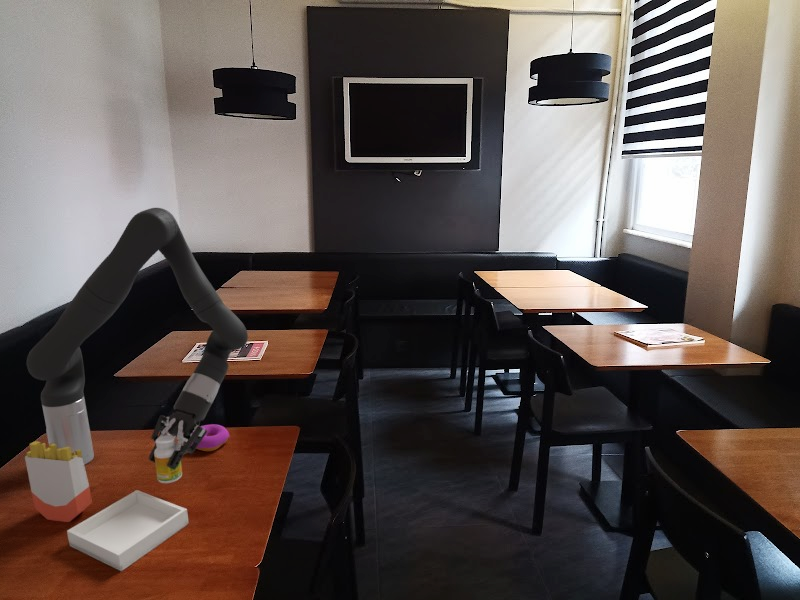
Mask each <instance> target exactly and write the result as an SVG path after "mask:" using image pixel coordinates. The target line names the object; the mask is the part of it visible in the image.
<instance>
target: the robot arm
mask: <svg viewBox="0 0 800 600" xmlns="http://www.w3.org/2000/svg"><path fill="white" fill-rule="evenodd" d="M158 251H159V252H160V253H161V255H163V257H164V259H165V260H166V261H167V263H168V265H169V266H170V268H171V270H172V271H173V274H174V276H175V279H176V282H177V285H178V286H179V289H180V292H181V294H182V296H183V298H184V300H185V301H186V303H187V304H188V305H189V307H190V308H191V309H192V311H193V312H194V314H195V316H196V317H197V319H199V320H200V321H201V322H202V323H205V324H208V326H210V327H211V328H212V331H211V333H210V334H209V336H208V338H207V340H206V343H205V346H204V349H203V354H202V357H201V359H200V360H199V362H198V363H197V366H196V367H195V369H194V370H193V371H192V374H191V376H190V377H189V378H188V380H187V381H186V383H185V385H184V387H183V389H182V390H181V392H180V394H179V396H178V397H177V399H176V401H175V404H174V405H173V409H174V410H173V413H171V415H169V416H165V415H163V414H160V415H159V417H158V419H157V422H156V424H155V428H154V430H153V432H152V434H151V437H150V438H151V440H153V441H154V443H155V444H154V446H153V448H152V450H151V452H150V453H149V456H148V461H150V462H152V463H154V464H155V457H154V451H155V449H156V448H157V446H156V440H157V439H158V438H159V437H162V436H166V435H172V436H174V437H175V438H176V442H177V443H176V444H177V447H176V450H177V451H175V450H174V452H173V454H172V456H171V458H170V460H169V462H168V464H167V467H169V468H171V469H175V468H176V467H177V466H178V465H179V463H180V461H181V462H182V459H183V457H184V455H185V454H188V453H189V454H193V453H194V452H195V451H196V448H197V446H198V445H199V443H200V442H201V440H202V439H203V437H204V436H205V435H206V433H207V430H206V429H204V428H203V427H200V423H201V421H204V420H205V418H206V416H207V414H208V412H209V410H210V409H211V407H212V404H213V403H214V400H215V398H216V396H217V394H218V392H219V389H220V386H221V385H222V382H223V381H224V378H225V376H226V374H227V372H228V370H229V363H228V360H229V357H230V354H231V353H232V351H236V350H237V351H238V350H239V349H242V348H244V347H245V346H246V344H247V342H248V338H249V336H248V335H249V334H248V331H247V328H246V326H245V324H244V323H243V322H242V320H240V318H239V317H238V316H237V315H236V314H235V313H234V312H233V311H232V310H231V309H230V308H229V307H227V306H226V305H225V304H224V302H223V300H222V298H221V297H220V296H219V294H218V293H217V291H216V289H215V288H214V287H213V285H212V283H211V282H210V281H209V279H208V277H207V276H206V275H205V273H204V271H203V270H202V269H201V267H200V265H199V263H198V262H197V260H196V259H195V256H194V255H193V253H192V251H191V248H190V247H189V245H188V243H187V241H186V239H185V237H184V235H183V232H182V230H181V227H180V226H179V224H178V221H177V219H176V218H175V216H174V215H173V214H172V213H171V212H170V211H169V210H166V209H165V208H162V207H152V208H148V209H145V210H142V211H139V212H138V213H136V214H134V215H133V217H132V218H131V219H130V220H129V222H128V223H127V225H126V227H125V229H124V230H123V232H122V233H121V236H120V238H119V239H118V241H117V243H116V244H115V246H114V247H113V249H112V250H111V251H110V253H109V254H108V255H107V256H106V257H105V258H104V259H103V260H102V262H100V264H99V265H98V266H97V267H96V269H95V270H94V271H93V272H91V275H90V276H89V277H88V278H87V279H86V281H85V282H84V283H83V285H82V286H81V287H80V289H79V290H78V291H77V293H76V294H75V296H74V297H73V298H72V300H71V301H70V303H69V304H68V306H67V307H65V310H64V311H63V313H62V314H61V316H60V317H59V318H58V319H57V321H56V323H55V324H54V326H53V327H52V328H51V329H50V330H49V331H48V332H47V333H46V334H45V335H44V336H43V338H41V339H40V340H39V341H38V342H37V343H36V344H35V345H34V346H33V347H32V349H31V350H29V352H28V355H27V358H26V367H27V370H28V373H29V374H30V375H31V377H33V378H34V379H36V380H40V381H46V382H45V385H44V387H43V389H42V391H41V393H40V401H41V406H42V411H43V412H42V413H43V416H44V421H45V427H46V429H45V431H46V437H47V442H48V445H49V444H51V443H53V444H56V445H57V450H58V449H59V448H64V447H71V451H72V452H74V455H75V451H76V450H81V451H82V459H83V463H84V466H85V465H86V464H88V463H90V462H91V461H92V460H93V459H94V458H95V454H94V448H93V447H94V446H93V441H92V435H91V428H90V424H89V418H88V411H87V405H86V399H85V394H84V387H85V383H86V375H85V367H84V360H83V359H84V358H83V354H82V349H81V347H80V346H81V345H82V344H83V342H85V340H86V339H88V338H89V337H90V336H91V335H93V334H94V333H95V332H96V331H98V329H100V328H101V327H102V325H104V324H105V323H106V322H107V321H108V320H109V319H110V318H111V317H112V316H113V315H114V313H116V311H117V310H118V309H119V307H120V306H121V305H122V304H123V303H124V301H125V299H126V298H127V297H128V295H129V293H130V291H131V289H132V288H133V285H134V282H135V279H136V277H137V276H138V273H139V272H140V271H141V269H142V268H143V266H145V264H146V263H147V262H148V261H149V260H150V259H151V258H152V257H153V256H154V255H155V254H156V253H157V252H158ZM192 433H193V434H192ZM193 442H194V443H193ZM192 443H193V444H192ZM191 444H192V446H191Z"/></svg>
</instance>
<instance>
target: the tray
mask: <svg viewBox="0 0 800 600" xmlns="http://www.w3.org/2000/svg"><path fill="white" fill-rule="evenodd" d="M188 515H189V514H188V509H187V508H186V507H183V506H179V505H177V504H175V503H172V502H169V501H167V500H164V499H161V498H159V497H156V496H153V495H151V494H148V493H145V492H143V491H141V490H138V489H136V490H134V491H133V492H131V493H129V494H128V495H126V496H124V497H122V498H120V499H119V500H117V501H115V502H114V503H112V504H110V505H109V506H107V507H105V508H103V509H101V510H100V511H98V512H97V513H95V514H93V515H92V516H90V517H88V518H87V519H85V520H82V522H79V523H77V524H76V525H75V526H73V527H71V528H69V529H67V530H66V532H67V539H68V543H69V545H68V546H69V547H71V548H73V549H75V550H77V551H79V552H81V553H83V554H85V555H87V556H89V557H91V558H93V559H95V560H97V561H100V562H101V563H104V564H106V565H107V566H110V567H112V568H114V569H116V570H118V571H120V572H123V571H124V570H125V569H127V568H128V567H129V566H131V565H133V564H134V563H135V562H136V561H138V560H139V559H141V558H142V557H144V556H145V555H146V554H148V553H149V552H151V551H153V549H155V548H157V547H158V546H160V545H161V544H162V543H163V542H165V541H166V540H168V539H169V538H170V537H172V536H173V535H176V533H178V532H179V531H181V530H182V529H183V528H185V527H186V526H187V525H189V516H188Z"/></svg>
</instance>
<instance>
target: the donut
mask: <svg viewBox="0 0 800 600" xmlns="http://www.w3.org/2000/svg"><path fill="white" fill-rule="evenodd" d="M199 426H200V425H199ZM200 427H203V428H204V429H206V430H207V433H206V435H205V436H204V437H203V439H202V440H201V442H200V443H199V445H198V446H197V448H196V449H197V450H200V451H204V452H214V451H216V450H218V449H219V448H220V447H221V446H223V445H224V444H226V443H227V442H228V439H229V438H230V433H229V431H228V429H227V428H225V426H223V425H220V424H213V423H211V424H205V425H201V426H200ZM192 434H193V433H192ZM193 443H194V442H193ZM193 443H192V444H193ZM192 444H191V446H192ZM191 446H190V447H191ZM196 449H195V450H196Z"/></svg>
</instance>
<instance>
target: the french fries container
mask: <svg viewBox="0 0 800 600" xmlns="http://www.w3.org/2000/svg"><path fill="white" fill-rule="evenodd" d="M46 446H47V447H46ZM29 449H30V450H29V451H27V452H26V455H25V456H24V459H25V460H24V461H25V464H26V471H27V474H28V475H27V476H28V481H29V486H30V490H31V496H32V501H33V505H34V506H33V507H34V509H35V510H36V511H37V512H38V513H39V514H41V515H42V516H43V517H44V519H46V520H48V521H54V522H64V523H70V522H71V521H72V520H74V519H75V518H76V517H78V516H79V515H80V514H81V513H83V512H84V510H86V509H87V508H88V507H89V506H90V505H91V504H92V503H93V499H92V494H91V493H92V492H91V488H90V483H89V479H88V475H87V472H86V467H85V465H84V463H83V459H82V451H81V450H76V451H75V455H74V452H72V451H71V447H64V448H59V449H58V450H57V445H56V444H53V443H51V444H49V443H48V445H47V444H46V442H41V441H36V440H35V441H33V442H30V443H29Z"/></svg>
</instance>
